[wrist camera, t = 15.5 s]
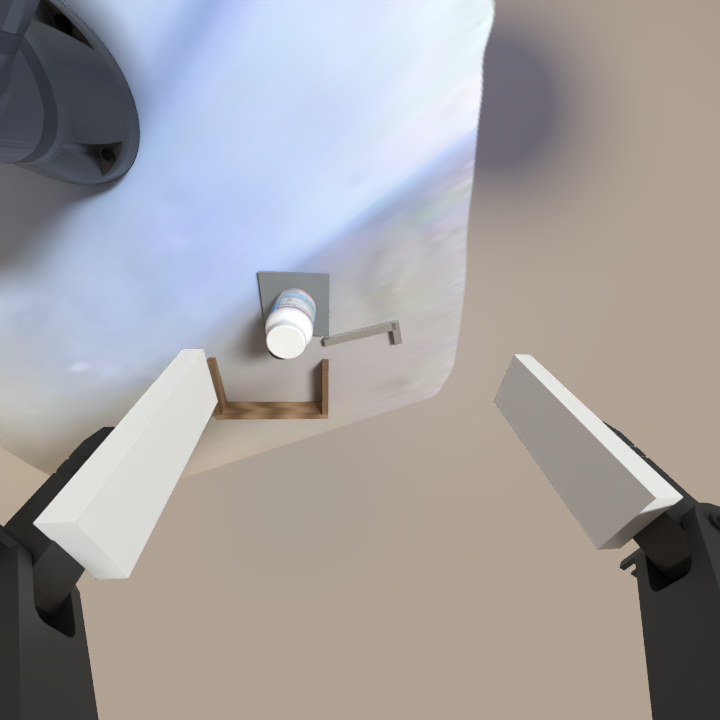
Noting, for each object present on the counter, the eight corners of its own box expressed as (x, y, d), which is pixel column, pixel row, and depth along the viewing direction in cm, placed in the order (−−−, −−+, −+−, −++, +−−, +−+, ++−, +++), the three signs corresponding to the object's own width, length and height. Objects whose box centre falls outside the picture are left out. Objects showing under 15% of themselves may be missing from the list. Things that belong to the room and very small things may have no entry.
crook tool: (323, 336, 47) (323, 340, 46) (397, 319, 46) (398, 322, 45) (330, 356, 49) (330, 359, 48) (400, 339, 49) (402, 343, 48)
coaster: (266, 332, 46) (266, 334, 45) (258, 270, 40) (257, 272, 40) (328, 334, 47) (328, 336, 46) (329, 274, 41) (328, 275, 41)
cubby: (222, 406, 53) (216, 419, 51) (209, 357, 47) (201, 369, 44) (328, 405, 55) (327, 418, 53) (328, 359, 49) (328, 370, 47)
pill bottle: (294, 331, 45) (284, 372, 36) (267, 302, 42) (248, 338, 33) (324, 310, 44) (321, 347, 34) (298, 278, 41) (287, 310, 31)
